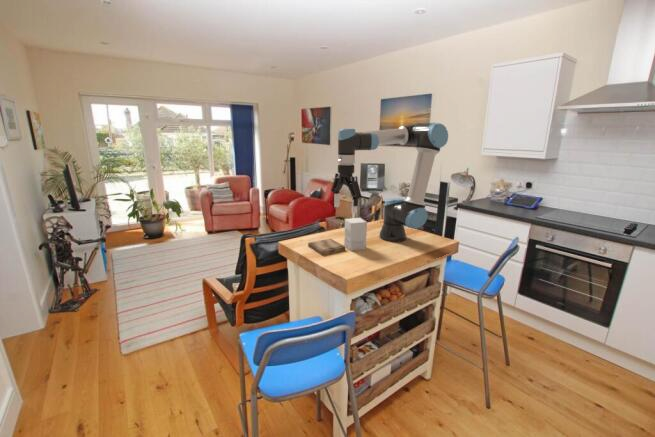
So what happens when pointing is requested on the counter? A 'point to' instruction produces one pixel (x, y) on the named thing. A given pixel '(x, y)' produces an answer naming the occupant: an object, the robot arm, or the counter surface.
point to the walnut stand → (326, 246)
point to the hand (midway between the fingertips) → (345, 209)
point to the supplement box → (355, 234)
